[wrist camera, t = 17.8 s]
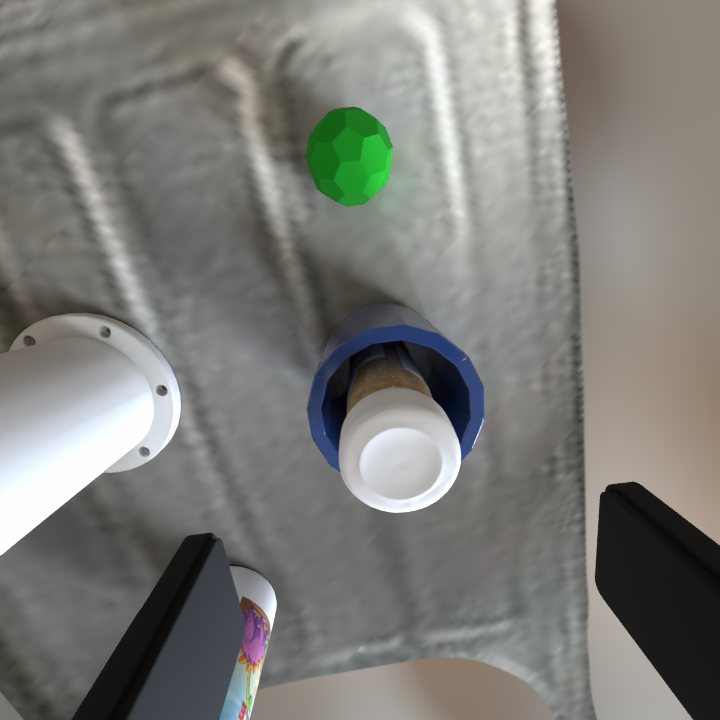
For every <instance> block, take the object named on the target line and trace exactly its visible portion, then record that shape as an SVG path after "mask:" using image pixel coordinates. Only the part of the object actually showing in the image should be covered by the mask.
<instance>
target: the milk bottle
mask: <svg viewBox="0 0 720 720" xmlns="http://www.w3.org/2000/svg"><path fill="white" fill-rule="evenodd" d="M230 570H231V573H232V577H233V580H234V584H235V587H236V591H237V594H238V598H239V601H240V605H241V608H242V612H243V615H244V619H245V633H244V638H243V642H242V645H241V648H240V652H239V655H238V658H237V662H236V665H235V669H234V672H233V675H232V679H231V682H230V685H229V689H228V692H227V696H226V699H225V702H224V706H223V709H222V712H221V716H220V719H219V720H249V719H250V715H251V711H252V707H253V703H254V699H255V695H256V691H257V687H258V683H259V679H260V675H261V671H262V666H263V662H264V658H265V654H266V650H267V646H268V642H269V638H270V633H271V629H272V625H273V621H274V616H275V611H276V597H275V593H274V590H273V588H272V586H271V585H270V583H269V582H268V581H267V580H266V579H265V578H264V577H263V576H262V575H260V574H258V573H257V572H255V571H253V570H250V569H248V568H243V567H237V566H230Z"/></svg>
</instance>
